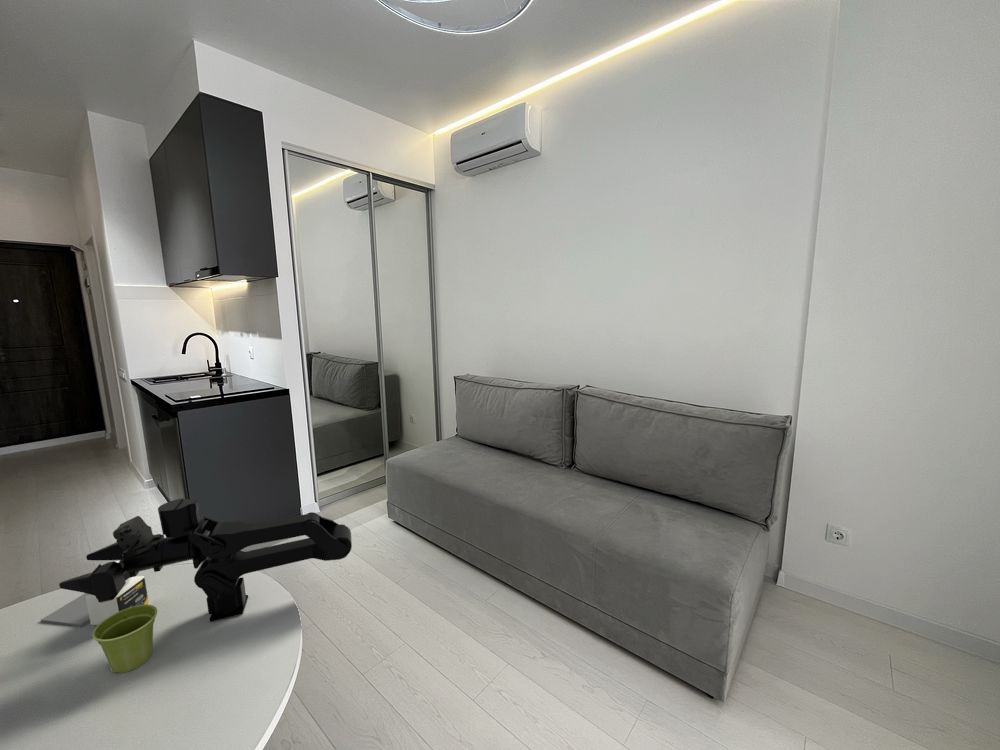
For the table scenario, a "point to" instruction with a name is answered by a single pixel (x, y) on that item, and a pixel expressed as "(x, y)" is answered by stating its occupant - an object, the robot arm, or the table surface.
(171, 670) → the table surface
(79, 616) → the mat
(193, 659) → the table surface
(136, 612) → the plant pot
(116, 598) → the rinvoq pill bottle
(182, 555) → the robot arm
